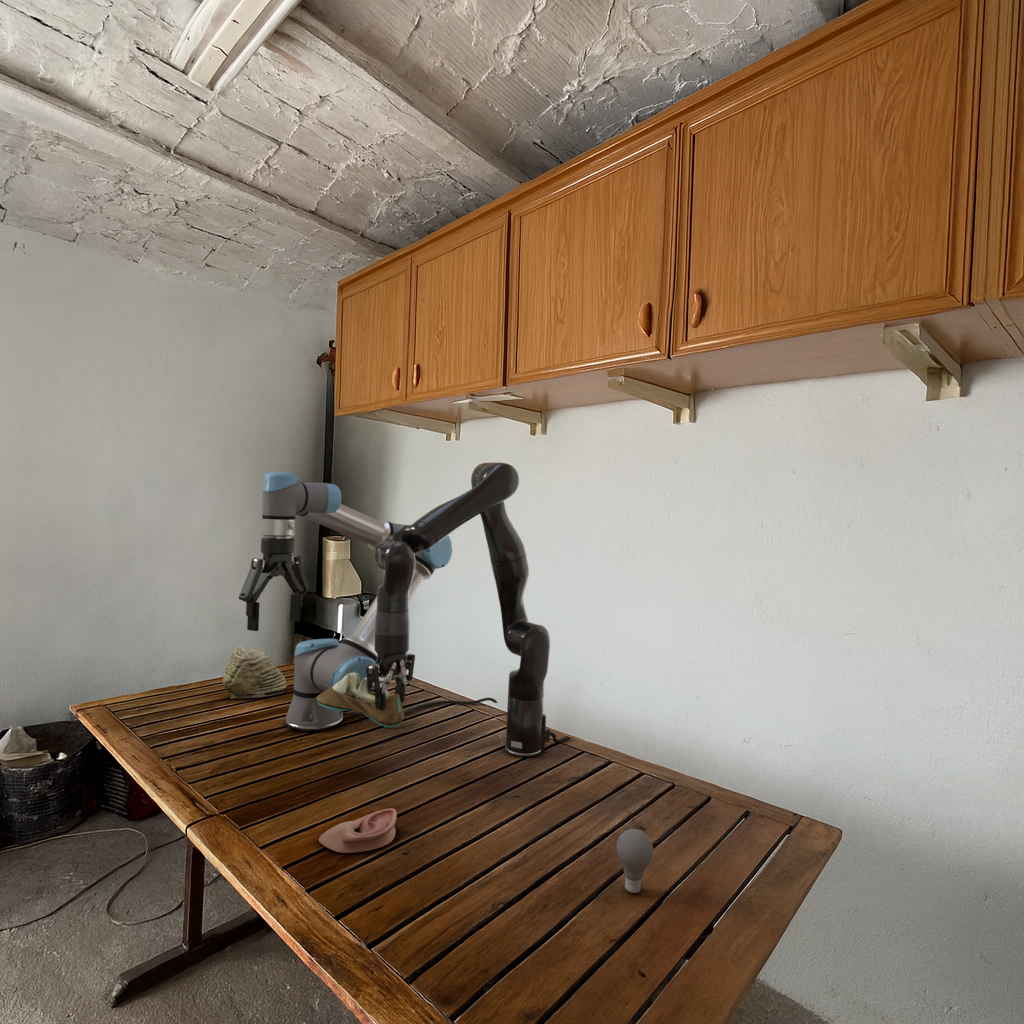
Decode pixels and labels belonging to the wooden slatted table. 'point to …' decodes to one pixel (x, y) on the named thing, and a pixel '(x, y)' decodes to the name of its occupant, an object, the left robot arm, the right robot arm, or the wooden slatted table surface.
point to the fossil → (252, 674)
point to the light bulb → (634, 857)
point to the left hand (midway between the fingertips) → (274, 625)
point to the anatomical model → (362, 833)
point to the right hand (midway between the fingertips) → (390, 705)
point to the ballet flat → (362, 701)
